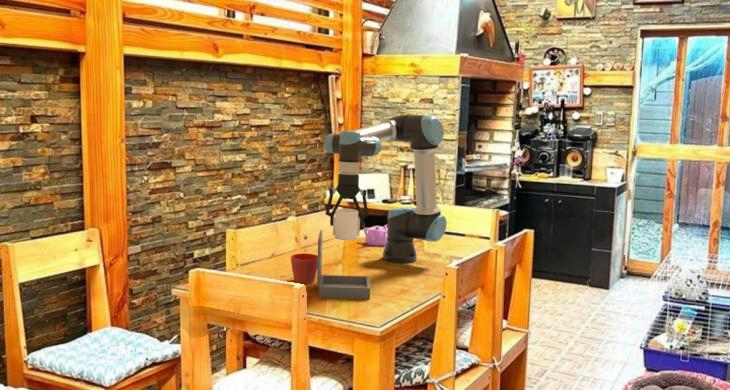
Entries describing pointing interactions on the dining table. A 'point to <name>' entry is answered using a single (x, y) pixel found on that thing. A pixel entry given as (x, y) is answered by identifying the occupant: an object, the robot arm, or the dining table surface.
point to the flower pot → (304, 267)
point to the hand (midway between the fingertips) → (346, 235)
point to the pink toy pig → (376, 236)
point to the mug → (346, 224)
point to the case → (340, 282)
